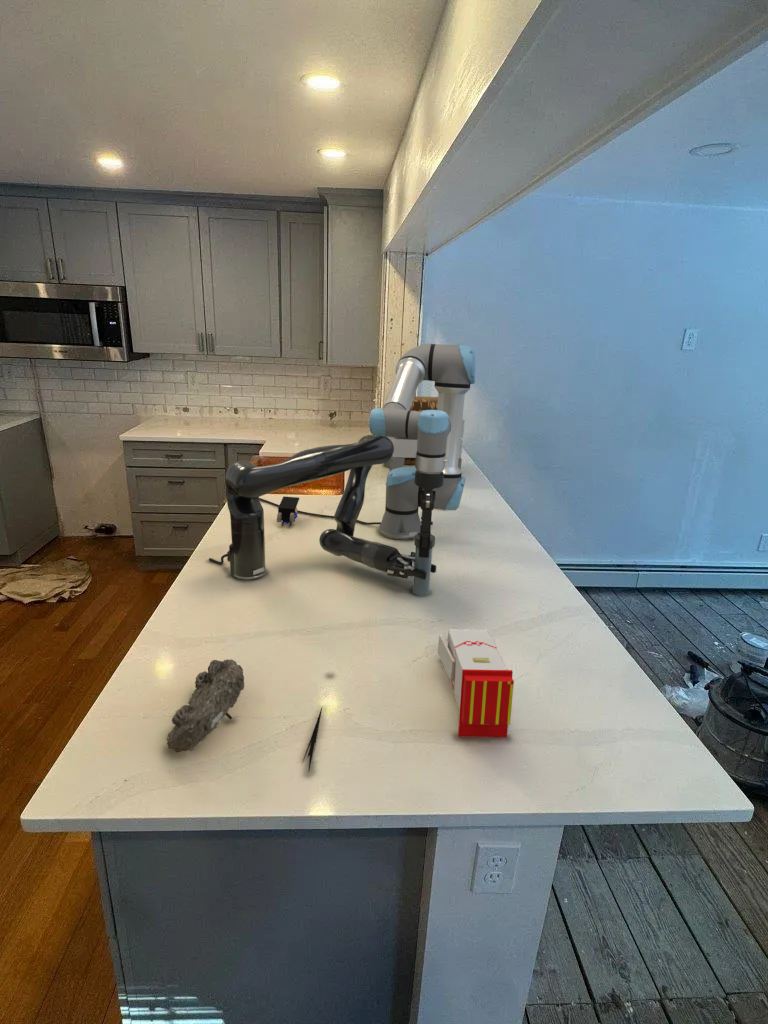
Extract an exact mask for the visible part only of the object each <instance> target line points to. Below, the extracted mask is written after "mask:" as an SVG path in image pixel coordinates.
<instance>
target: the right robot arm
mask: <svg viewBox="0 0 768 1024" xmlns="http://www.w3.org/2000/svg"><path fill="white" fill-rule="evenodd" d="M394 371H395V372H394V374H395V376H394V378H393V381H392V383H391V387H390V389H389V390H388V393H387V396H386V398H385V401H384V403H383V406H382V407H375V408H372V409H371V410H370V414H369V420H368V428H369V429H368V430H369V432H370V435H378V436H383V437H399V438H410V439H417V453H416V464H415V466H404V467H400V468H396V469H393V470H391V471H390V470H389V472H388V473H387V475H386V482H385V504H384V505H385V507H384V508H385V509H384V513H383V515H382V519H381V522H380V521H379V522H378V521H377V522H376V521H374V522H373V521H371V522H367V521H362V520H358V519H357V521H356V523H359V524H361V525H367V526H373V525H378V533H379V534H380V535H381V536H382V537H385V538H387V539H389V540H395V541H410V540H414V539H415V535H416V534H418V535H420V544H419V557H424V558H429V547H430V535H432V532H431V530H432V526H433V524H434V522H433V521H432V517H433V511H434V509H435V510H443V511H456V510H458V509H459V508H460V504H461V501H462V498H463V497H462V496H463V493H464V487H465V483H466V477H465V476H462V475H463V474H462V473H463V472H462V469H461V470H460V469H459V467H458V460H459V450H460V439H461V440H462V438H461V428H462V419H464V408H465V407H464V406H465V396H466V394H467V393H468V392H469V391H470V390H471V385H474V384H475V383H476V355H475V350H474V348H473V347H471V346H468V345H461V344H443V343H442V344H441V343H439V344H438V343H423V344H419V345H417V346H413V347H412V348H411V349H409V350H408V351H406V352H405V353H404V354H403V355H402V356H401V357H400V358H399V359H398V361H397V363H396V366H395V369H394ZM423 381H428V382H434V389H435V391H437V393H438V394H437V397H438V405H437V410H424V411H422V412H421V411H410V408H411V405H412V402H413V399H414V396H415V397H416V392H417V390H418V387H419V385H420V384H421V383H422V382H423ZM259 500H260V502H261V501H262V502H264V503H267V504H269V505H272V506H275V507H277V508H278V507H279V505H280V504H277V503H275V502H272V501H269V500H267V499H264V498H261V497H259ZM419 508H420V510H421V516H420V515H419ZM297 514H303V515H307V516H313V517H321V518H329V519H334V515H327V514H321V513H314V512H307V511H303V510H298V509H297Z"/></svg>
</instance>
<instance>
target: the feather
mask: <svg viewBox="0 0 768 1024" xmlns="http://www.w3.org/2000/svg"><path fill="white" fill-rule="evenodd" d="M329 675H330V676H331V675H332V674H331V673H330V674H329ZM322 710H323V707H321V708H320V710H319V713H318V716H317V719H316V723H315V725H314V728H313V731H312V733H311V737H310V739H309V742H308V745H307V748H306V751H305V754H304V757H303V760H302V763H301V767H302V765H303V763H304V761H305V758H308V759H309V760H308V762H307V763H308V764H307V766H308V771H310V770H311V766H312V765H311V764H312V760H313V757H315V756H314V755H315V751H316V749H315V746H317V739H318V733H319V729H320V722H321V717H322V712H323V711H322ZM313 754H314V755H313ZM306 755H307V757H306Z"/></svg>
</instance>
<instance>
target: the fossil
mask: <svg viewBox="0 0 768 1024" xmlns="http://www.w3.org/2000/svg"><path fill="white" fill-rule="evenodd" d="M243 670H244V669H243V667H242V665H240V664H237V662H236V661H235V660H234V659H232V658H231V659H227V658H226V659H224V660H223V661H222V660H217V659H212V660H211V661H210V663H209V665H208V666H207V671H201V672H199V673H198V674H197V675H196V676H195V680H194V684H195V685H194V687H195V689H194V690H193V693H192V694H191V697H190V698H189V700H188V704H184V705H182V706H181V707H180V709H177V710H176V711H175V713H174V715H173V716H172V718H171V723H172V724H173V727H172V730H171V731H170V732H168V734H167V738H166V741H167V742H166V745H167V749H168V750H169V751H173V752H174V753H176V754H178V753H182V752H188V751H189V752H192V751H193V750H195V748H196V747H197V746H199V744H200V743H201V742H203V741H204V740H205V739H206V738H207V737H208V736H209V735H210V734H211V733H212V732H214V730H215V729H217V727H218V726H219V724H220V722H221V721H222V720H223V719H224V718H225V716H226V717H227V719H229V720H233V717H232V715H230V714H229V710H230V709H231V708H234V706H235V704H236V703H237V702H238V699H239V697H240V695H241V693H242V691H243V690H245V689H244V688H245V675H244V671H243Z"/></svg>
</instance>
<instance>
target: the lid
mask: <svg viewBox="0 0 768 1024" xmlns="http://www.w3.org/2000/svg"><path fill="white" fill-rule="evenodd" d="M413 540H414V542H413V545H414V547H416V546H417V547H419V544H420V535H418V534H416V535H415V539H413ZM435 544H436V536H435V535H433V534H431V535H430V547H429V548H432V547H433V548H434V547H435Z"/></svg>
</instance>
